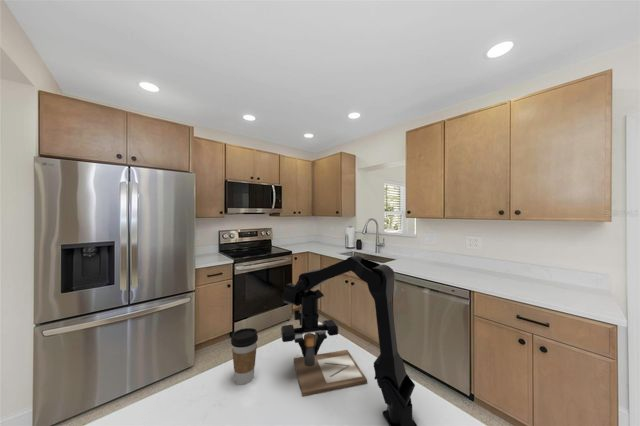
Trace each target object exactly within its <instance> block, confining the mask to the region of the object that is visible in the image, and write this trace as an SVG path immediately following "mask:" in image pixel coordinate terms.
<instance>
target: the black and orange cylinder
mask: <svg viewBox="0 0 640 426" xmlns="http://www.w3.org/2000/svg"><path fill="white" fill-rule="evenodd" d="M303 339H304V346H305V357H304V364H305V365H306V366H313V365H314V364H315V333H306V334H304V335H303Z"/></svg>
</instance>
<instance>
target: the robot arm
mask: <svg viewBox="0 0 640 426" xmlns="http://www.w3.org/2000/svg"><path fill="white" fill-rule="evenodd" d="M348 272H352V273H354V274H355V275H356V276H357V278H359V279H360V280H361V281H363V282H365V283H366V284H367V288H368V291H369V294H370V295H371V297H372V299H373V300H374V308H375V316H376V317H375V318H376V324H377V325H376V326H377V334H378V336H377V337H378V343H379V344H378V345H379V355H378V357H377V358H376V359H375V361H373V369H374V374H375V375H374V380H376V383H377V386H378V388H379V389H380V391H381V393H382V397H383V399H384V403H385V404H386V405H387V407H386V408H387V409H386V410H382V416H383V417H384V419H385V420H386V422H387V424H388V425H389V426H418V424H417V423H416V422H415V421H414V419H413V404H412V394H413V392H414V389H415V387H416V384H415V382H414V381H413V380H412V379H411V377H410V376H409V374H407V371H406V367H405V364H404V360H403V358H402V357H401V355H400V353H399V352H398V344H397V343H398V342H397V336H396V327H395V317H394V308H393V301H392V300H393V298H392V297H393V293H394V290H395V289H394V288H395V276H396V275H395V271H394V269H393V268H391V266H389V265H387V264H381V263H378V262H376V261H373V260H369V259H367V258H364V257H362V256H360V255H359V254H358V255H352V256H349V257H347V258H346V259H343V260H342V261H339V262H336V263H334V264H331V265H329V266H326V267H324V268H319V269H318V268H317V269H312V270H310V271H309V270H308V271H305V272H304V273H303V272H302V273H300V274H299V275H298V279H297V282H296V284H294V283H291V282H289V283H287V284H286V286H285V289H284V290H283V293H282V294H281V298H282V301H283V303H285V304H288V305H292V306H295V307H300V306H301V307H300V308H301V309H300V310H301V311H300V310H293V320H294V321H299V325H300V326H301V327H296V328H295V327H294V325H293V324H284V325H282V326H281V328H280V335H281V336H280V337H281V341H282V342H283V343H289V342H293V341H294V343H295V344H297V345H298V346H299V347H300V350H301V353H302V357H305V346H304V335H305V334H307V333H313V334H315V355H317V354H318V352H319V350H320V348H321V346H322V344H323V342H324V341H325V340H326V339H327V338H328V336H338V335H339V325H337V323H336V322H335V320H334V319H327V320H323V321H322V324H321V323H320V324H319V319H320V317H319V316H320V315H319V299H322V298H323V297H324V296H325V295H324V293H323V292H322V291H321V290H320V289H316V290H313V289H315V288H317V287H319V286H321V285H323V284H324V283H325V282H327V281H328V280H330V279H333V278H335V277H338V276H341V275H343V274H346V273H348ZM303 334H304V335H303ZM327 334H328V335H327Z"/></svg>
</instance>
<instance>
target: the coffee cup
mask: <svg viewBox="0 0 640 426" xmlns="http://www.w3.org/2000/svg"><path fill="white" fill-rule="evenodd" d="M258 336H259V335H258V331H257V329H256V328H251V327H247V328H242V329H241V328H240V329H237V330H236V331H234V332H233V333H232V337H231V339H230V340H231V341H230V343H231V346H232V348H231V351H232V361H233V362H232V363H233V371H234V372H233V373H234V382H235V383H236V384H237V385H246V384H249V383H250V382H252V381H253V379H254V378H255V367H256V357H257V347H258V344H257V341H259V337H258Z"/></svg>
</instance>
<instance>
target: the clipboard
mask: <svg viewBox="0 0 640 426" xmlns="http://www.w3.org/2000/svg"><path fill="white" fill-rule="evenodd" d="M293 365H294V367H295V373H296V375H297V379H298V380H297V381H298V384H299V389H300V392H301V396H302V397H308V396H311V395H312V396H313V395H318V394H322V393H327V392H332V391H336V390H337V391H338V390H340V389H341V390H342V389H347V388H350V387H351V388H352V387H354V386H356V387H357V386H362V385H365V384H368V379H367V376H365V374H364V372H363V371H362V370H361V368H360V367H359V365H358V363H357V361H355V359H354V357H353V356H352V355H351V353H350V351H349V350H348V349H342V350H337V351H330V352H325V353H319V354H318V353H317V355H315V364H314V365H313V366H306V365H305V364H304V357H303V356H298V357H293Z"/></svg>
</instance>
